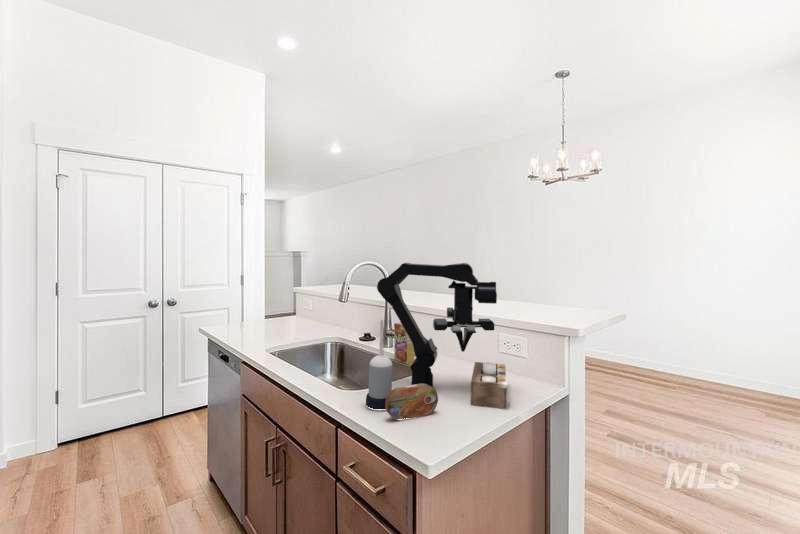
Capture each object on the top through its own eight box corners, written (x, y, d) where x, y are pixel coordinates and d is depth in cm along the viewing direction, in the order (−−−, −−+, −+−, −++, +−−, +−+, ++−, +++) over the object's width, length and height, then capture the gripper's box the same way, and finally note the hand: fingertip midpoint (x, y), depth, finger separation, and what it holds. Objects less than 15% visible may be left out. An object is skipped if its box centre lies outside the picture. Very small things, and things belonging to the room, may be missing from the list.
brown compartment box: (470, 405, 110) (471, 380, 110) (474, 382, 129) (475, 361, 129) (506, 408, 108) (506, 384, 107) (504, 384, 127) (505, 363, 127)
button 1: (481, 394, 111) (481, 379, 110) (482, 389, 115) (482, 375, 114) (495, 396, 110) (495, 380, 110) (495, 391, 114) (495, 376, 113)
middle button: (482, 380, 117) (482, 365, 117) (483, 375, 121) (483, 362, 121) (495, 381, 116) (496, 366, 116) (495, 377, 120) (496, 363, 120)
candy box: (393, 359, 156) (393, 322, 155) (401, 357, 159) (402, 321, 158) (406, 364, 149) (406, 326, 148) (414, 362, 151) (415, 325, 151)
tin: (388, 423, 98) (388, 391, 98) (383, 418, 101) (383, 387, 101) (438, 413, 104) (438, 383, 104) (433, 409, 107) (433, 380, 107)
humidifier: (386, 397, 115) (388, 316, 114) (398, 408, 108) (401, 321, 106) (361, 401, 112) (363, 318, 110) (372, 413, 104) (374, 323, 103)
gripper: (486, 299, 128) (486, 344, 129) (431, 299, 128) (431, 344, 128) (495, 304, 117) (494, 353, 117) (434, 303, 117) (434, 353, 117)
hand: (462, 351), depth 120 cm, fingers closed
